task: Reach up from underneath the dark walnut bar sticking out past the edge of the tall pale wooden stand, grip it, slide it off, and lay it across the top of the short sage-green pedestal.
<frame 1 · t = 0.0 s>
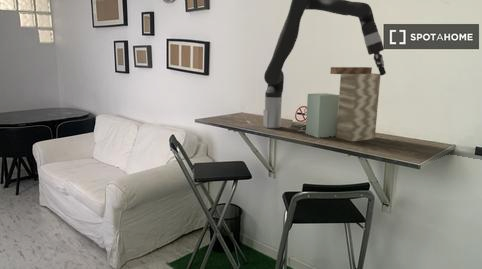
hand: (383, 74, 187), 31 cm above the table, tool tilted 20°, fingers open, 8 cm apart
short pedestal: (320, 134, 196), on the table
tall stand: (355, 138, 189), on the table
bar: (351, 73, 180), point 32 cm above the table, touching tall stand
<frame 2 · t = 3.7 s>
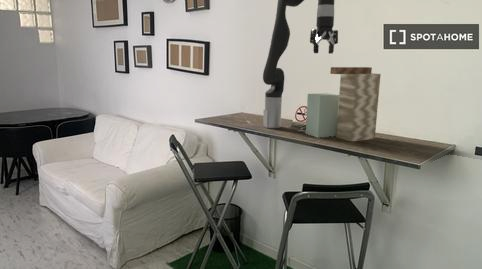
hand: (323, 53, 171), 41 cm above the table, tool pointing down, fingers open, 8 cm apart
nothing on the table moved.
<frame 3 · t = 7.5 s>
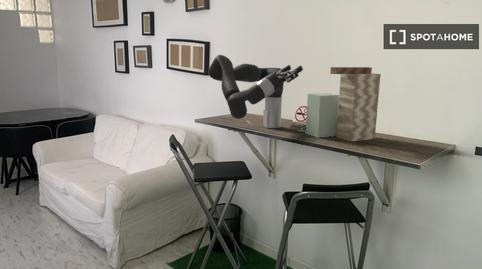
hand: (295, 67, 165), 35 cm above the table, tool pointing upward, fingers open, 8 cm apart
nothing on the table moved.
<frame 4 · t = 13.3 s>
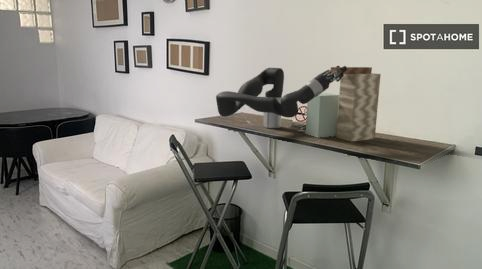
hand: (342, 67, 177), 35 cm above the table, tool pointing upward, fingers closed on bar, 4 cm apart
bar: (351, 73, 180), point 32 cm above the table, touching gripper, tall stand
everything else where it was.
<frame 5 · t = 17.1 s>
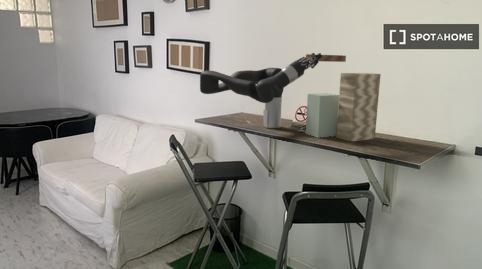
hand: (317, 54, 180), 41 cm above the table, tool pointing upward, fingers closed on bar, 4 cm apart
bar: (326, 61, 183), point 38 cm above the table, touching gripper
everything else where it was.
when the fingers open (27 cm above the table, at t = 21.4 s): bar drops 3 cm, resting on short pedestal.
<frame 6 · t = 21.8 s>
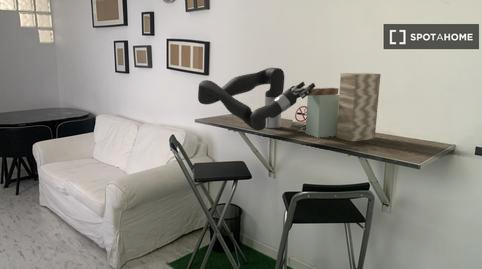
hand: (309, 83, 186), 26 cm above the table, tool pointing upward, fingers open, 8 cm apart
bar: (318, 94, 190), point 21 cm above the table, touching short pedestal
everything else where it was.
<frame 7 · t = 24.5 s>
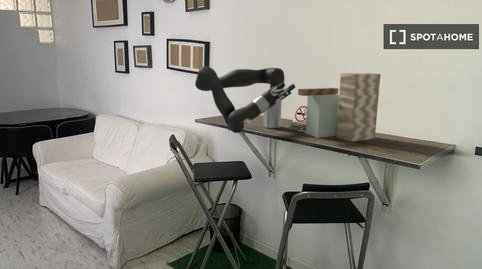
hand: (289, 84, 181), 26 cm above the table, tool pointing upward, fingers open, 8 cm apart
nothing on the table moved.
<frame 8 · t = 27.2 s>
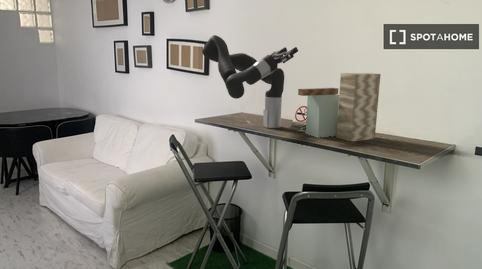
hand: (291, 49, 171), 43 cm above the table, tool pointing upward, fingers open, 8 cm apart
nothing on the table moved.
at the end: bar inside the target area on the short pedestal (0.8 cm from its centre), point 21.0 cm above the short pedestal's base; bar touching short pedestal; the gripper is holding nothing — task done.
